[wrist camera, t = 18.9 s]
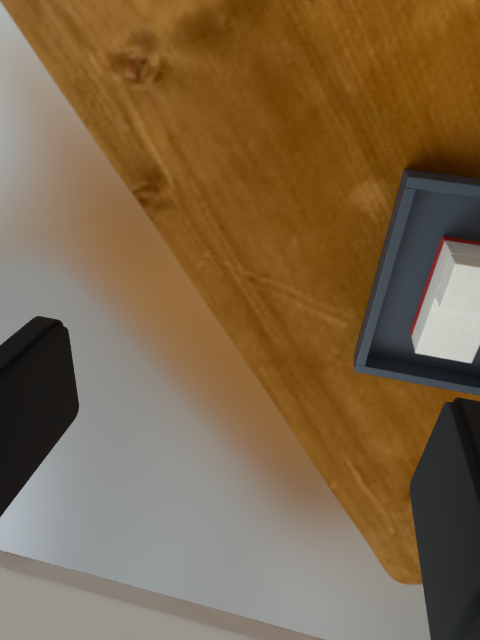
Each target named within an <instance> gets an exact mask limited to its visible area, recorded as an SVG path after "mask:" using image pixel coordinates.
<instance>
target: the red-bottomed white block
mask: <svg viewBox="0 0 480 640" xmlns="http://www.w3.org/2000/svg"><path fill="white" fill-rule="evenodd" d="M410 333H411V337H412V341H413V346H414V350H415V353H417V354H422V355H428V356H433V357H439V358H444V359H450V360H455V361H461V362H466V363H472V361H473V359H474V357H475V355H476V352H477V350H478V348H479V346H480V241H474V240H467V239H460V238H454V237H447V236H442V238H441V241H440V244H439V247H438V250H437V253H436V256H435V259H434V262H433V265H432V268H431V271H430V274H429V276H428V279H427V282H426V285H425V288H424V291H423V294H422V297H421V300H420V303H419V306H418V309H417V312H416V315H415V318H414V321H413V323H412V326H411V329H410Z"/></svg>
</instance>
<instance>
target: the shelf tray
mask: <svg viewBox="0 0 480 640" xmlns="http://www.w3.org/2000/svg"><path fill="white" fill-rule="evenodd" d="M442 236H447V237H454V238H460V239H467V240H474V241H480V178H472V177H464V176H456V175H449V174H441V173H433V172H425V171H418V170H410V169H404V172H403V176H402V179H401V183H400V187H399V191H398V194H397V198H396V202H395V205H394V209H393V213H392V216H391V220H390V224H389V228H388V231H387V235H386V239H385V242H384V246H383V250H382V253H381V257H380V261H379V264H378V268H377V272H376V276H375V279H374V283H373V287H372V290H371V294H370V298H369V301H368V305H367V309H366V312H365V316H364V320H363V324H362V327H361V331H360V335H359V338H358V342H357V346H356V349H355V353H354V371H355V372H360V373H365V374H370V375H375V376H381V377H386V378H391V379H396V380H401V381H407V382H412V383H417V384H422V385H427V386H433V387H438V388H443V389H448V390H454V391H459V392H464V393H469V394H474V395H480V346H479V348H478V350H477V352H476V355H475V357H474V359H473V361H472V363H466V362H461V361H455V360H450V359H444V358H439V357H433V356H428V355H422V354H417V353H415V350H414V346H413V341H412V337H411V333H410V329H411V326H412V323H413V321H414V318H415V315H416V312H417V309H418V306H419V303H420V300H421V297H422V294H423V291H424V288H425V285H426V282H427V279H428V276H429V274H430V271H431V268H432V265H433V262H434V259H435V256H436V253H437V250H438V247H439V244H440V241H441V238H442Z"/></svg>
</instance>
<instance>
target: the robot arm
mask: <svg viewBox="0 0 480 640" xmlns="http://www.w3.org/2000/svg"><path fill="white" fill-rule="evenodd" d="M78 410H79V402H78V395H77V388H76V381H75V374H74V367H73V360H72V353H71V345H70V339H69V333H68V329H67V328H66V327H64V326H63V323H62V322H61V321H60V320H56V319H51V318H46V317H41V316H37V317H35V318H33V319H32V320H31V321H29V322H28V323H27V324H26V325H24V326H23V327H22V328H21V329H20V330H18V331H17V332H16V333H15V334H13V335H12V336H11V337H10V338H9V339H7V340H6V341H5V342H4V343H3V344H2V345H0V517H1V515H2V514H3V513H4V511H5V510H6V509H7V507H8V506H9V505H10V504H11V502H12V501H13V500H14V498H15V497H16V496H17V494H18V493H19V492H20V490H21V489H22V488H23V486H24V485H25V484H26V483H27V481H28V480H29V478H30V477H31V476H32V475H33V473H34V472H35V471H36V469H37V468H38V467H39V465H40V464H41V463H42V461H43V460H44V459H45V458H46V456H47V455H48V453H49V452H50V451H51V450H52V448H53V447H54V446H55V444H56V443H57V442H58V440H59V439H60V438H61V436H62V435H63V434H64V432H65V431H66V430H67V429H68V427H69V426H70V425H71V423H72V422H73V421H74V419H75V418H76V416H77V413H78ZM410 497H411V504H412V511H413V518H414V525H415V532H416V539H417V546H418V553H419V560H420V567H421V574H422V581H423V588H424V595H425V602H426V609H427V616H428V623H429V630H430V637H431V640H480V402H479V401H474V400H469V399H464V398H459V397H458V398H456V399H455V400H454V401H453V403H451V402H446V403H445V404H444V406H443V408H442V410H441V413H440V415H439V417H438V419H437V422H436V424H435V426H434V429H433V431H432V433H431V436H430V438H429V440H428V443H427V445H426V447H425V449H424V452H423V454H422V456H421V459H420V461H419V463H418V466H417V468H416V470H415V472H414V475H413V477H412V480H411V484H410ZM0 640H324V639H321V638H317V637H313V636H310V635H306V634H303V633H299V632H296V631H292V630H289V629H285V628H281V627H278V626H274V625H271V624H267V623H263V622H260V621H257V620H253V619H249V618H246V617H242V616H239V615H235V614H232V613H228V612H225V611H221V610H217V609H214V608H210V607H206V606H203V605H199V604H196V603H192V602H188V601H184V600H181V599H177V598H174V597H170V596H166V595H163V594H159V593H155V592H152V591H148V590H145V589H141V588H137V587H133V586H130V585H127V584H123V583H119V582H116V581H112V580H108V579H105V578H101V577H97V576H94V575H90V574H86V573H83V572H79V571H75V570H71V569H68V568H64V567H60V566H56V565H53V564H49V563H45V562H42V561H38V560H34V559H30V558H27V557H23V556H19V555H16V554H12V553H8V552H4V551H1V550H0Z"/></svg>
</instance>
